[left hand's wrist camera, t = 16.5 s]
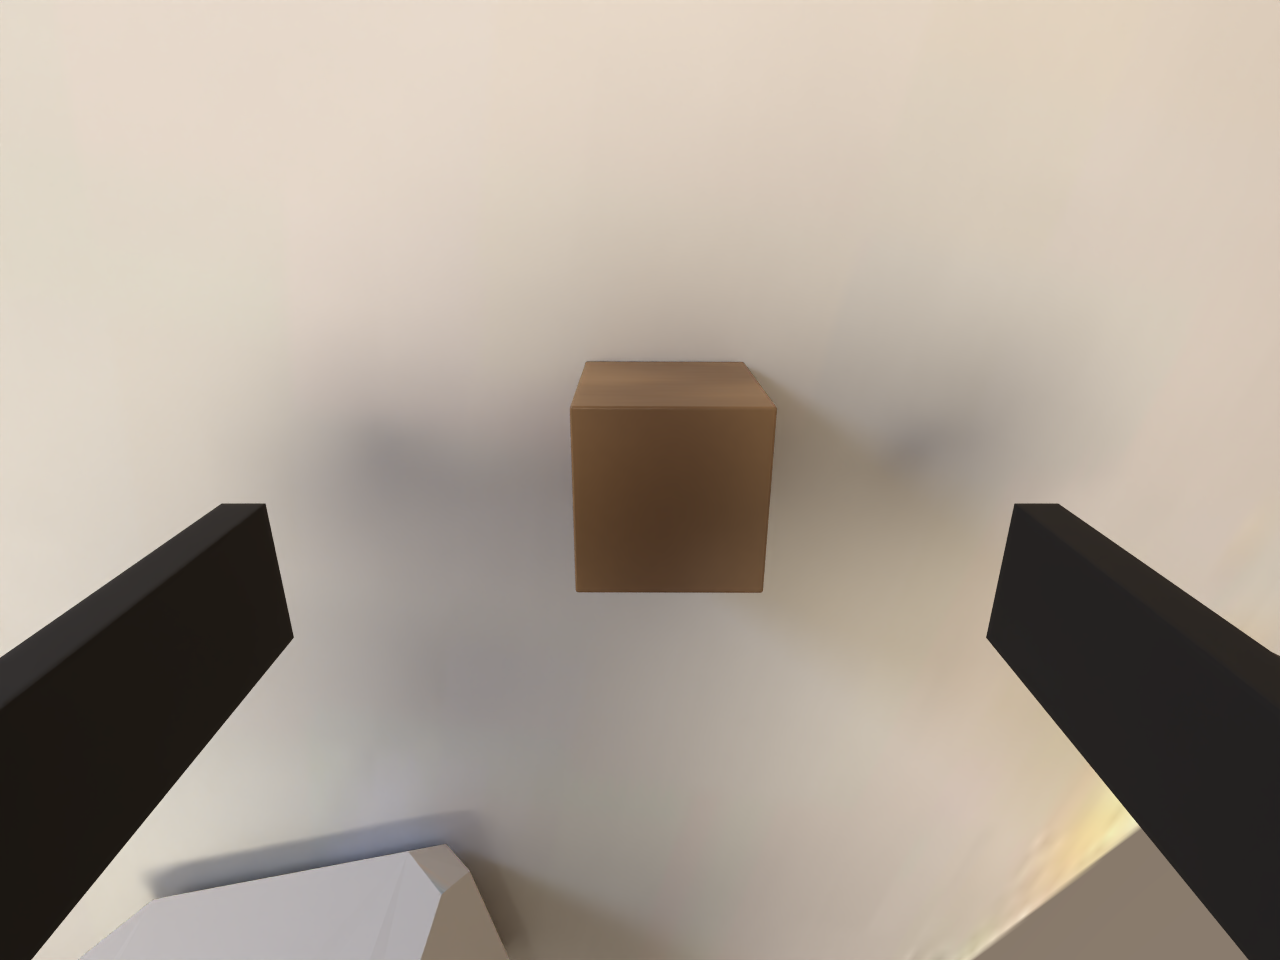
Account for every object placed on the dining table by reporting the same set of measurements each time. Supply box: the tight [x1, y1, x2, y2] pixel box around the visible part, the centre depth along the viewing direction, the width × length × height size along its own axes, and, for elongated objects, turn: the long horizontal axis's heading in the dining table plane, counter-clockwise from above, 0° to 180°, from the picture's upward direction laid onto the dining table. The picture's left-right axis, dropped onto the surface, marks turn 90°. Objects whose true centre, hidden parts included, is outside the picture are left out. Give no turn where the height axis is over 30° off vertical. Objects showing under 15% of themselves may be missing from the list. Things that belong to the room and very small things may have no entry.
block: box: [570, 362, 777, 593], centre depth 17 cm, size 4×4×5 cm
